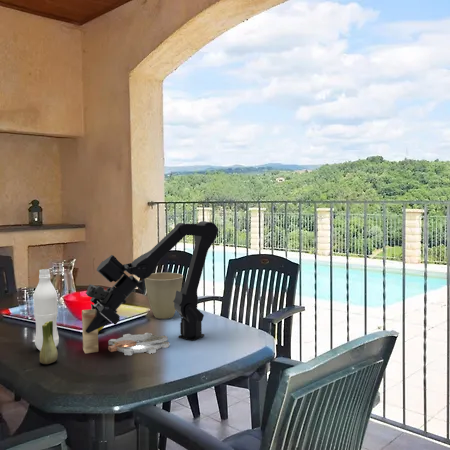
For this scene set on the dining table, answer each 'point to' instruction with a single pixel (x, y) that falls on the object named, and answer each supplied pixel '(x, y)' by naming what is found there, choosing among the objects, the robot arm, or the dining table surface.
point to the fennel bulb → (48, 345)
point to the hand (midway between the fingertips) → (85, 330)
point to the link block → (89, 338)
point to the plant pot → (163, 293)
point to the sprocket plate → (138, 343)
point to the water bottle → (45, 307)
